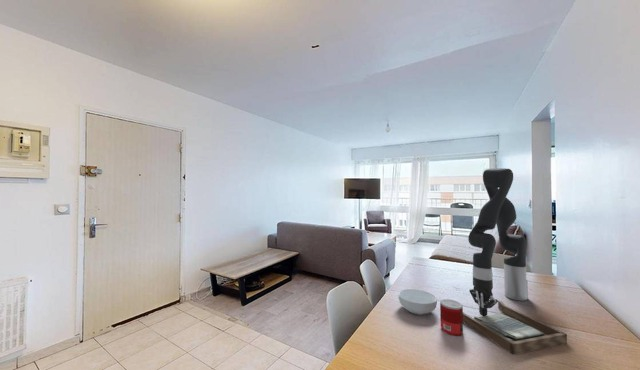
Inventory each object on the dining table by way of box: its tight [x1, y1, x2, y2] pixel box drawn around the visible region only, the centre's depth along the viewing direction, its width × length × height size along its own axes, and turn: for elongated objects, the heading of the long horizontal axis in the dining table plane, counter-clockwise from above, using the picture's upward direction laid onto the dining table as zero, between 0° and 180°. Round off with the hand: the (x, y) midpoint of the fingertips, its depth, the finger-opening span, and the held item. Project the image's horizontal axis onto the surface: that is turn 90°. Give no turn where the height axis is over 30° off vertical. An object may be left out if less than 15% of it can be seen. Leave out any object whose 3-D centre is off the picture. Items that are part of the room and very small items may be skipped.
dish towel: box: [473, 312, 546, 342], centre depth 99 cm, size 19×18×3 cm
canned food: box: [439, 299, 464, 337], centre depth 98 cm, size 8×8×11 cm
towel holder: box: [463, 300, 568, 355], centre depth 100 cm, size 30×28×4 cm
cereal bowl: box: [398, 288, 438, 316], centre depth 114 cm, size 17×17×7 cm
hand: (483, 315), depth 109 cm, fingers closed
